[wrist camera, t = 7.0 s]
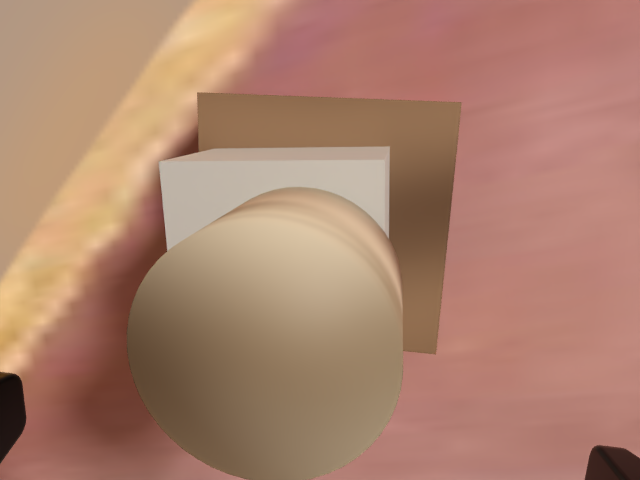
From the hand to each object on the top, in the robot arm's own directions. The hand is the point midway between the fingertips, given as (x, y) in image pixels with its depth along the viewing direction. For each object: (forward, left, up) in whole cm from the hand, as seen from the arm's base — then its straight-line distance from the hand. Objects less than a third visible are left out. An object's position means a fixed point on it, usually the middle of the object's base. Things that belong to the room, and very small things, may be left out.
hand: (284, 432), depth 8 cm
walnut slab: (+1, +1, -13) cm, 13 cm away
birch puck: (0, +1, -5) cm, 5 cm away
